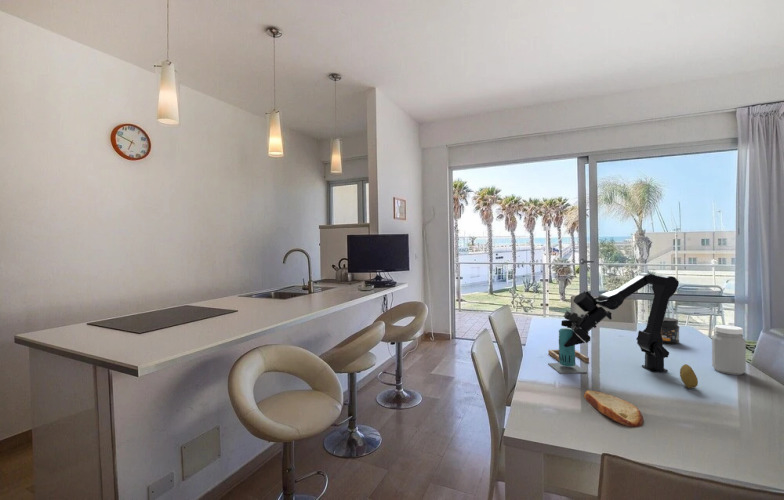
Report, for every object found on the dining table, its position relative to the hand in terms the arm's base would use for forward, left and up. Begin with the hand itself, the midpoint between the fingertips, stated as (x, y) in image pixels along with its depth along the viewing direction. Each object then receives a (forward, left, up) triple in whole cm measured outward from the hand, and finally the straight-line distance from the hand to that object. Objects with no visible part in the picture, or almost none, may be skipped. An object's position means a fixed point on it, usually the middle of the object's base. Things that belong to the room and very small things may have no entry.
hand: (562, 343), depth 149 cm
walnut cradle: (+13, -8, -11) cm, 19 cm away
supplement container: (+34, -70, -11) cm, 79 cm away
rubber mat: (0, -1, -11) cm, 11 cm away
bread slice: (-36, +3, -11) cm, 38 cm away
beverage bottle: (0, -2, -10) cm, 11 cm away
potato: (-21, -35, -11) cm, 43 cm away
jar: (-7, -63, -11) cm, 65 cm away
